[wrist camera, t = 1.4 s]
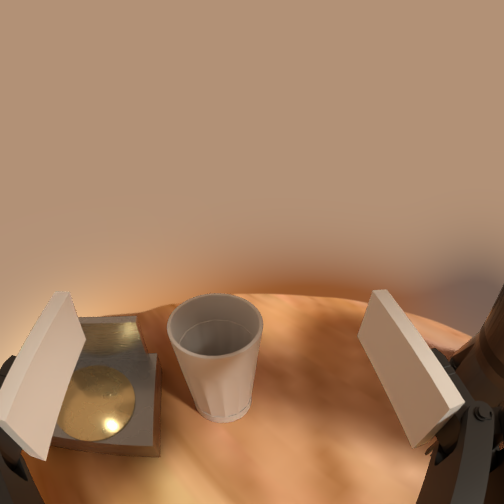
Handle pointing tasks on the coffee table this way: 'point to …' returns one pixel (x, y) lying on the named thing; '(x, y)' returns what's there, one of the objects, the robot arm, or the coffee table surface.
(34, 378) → the robot arm
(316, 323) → the coffee table surface
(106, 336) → the grey holder block
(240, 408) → the cup
